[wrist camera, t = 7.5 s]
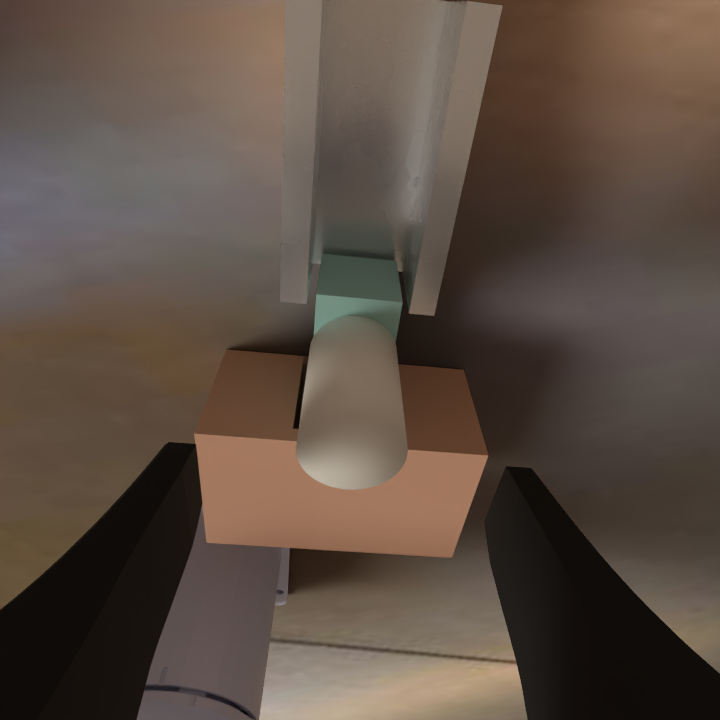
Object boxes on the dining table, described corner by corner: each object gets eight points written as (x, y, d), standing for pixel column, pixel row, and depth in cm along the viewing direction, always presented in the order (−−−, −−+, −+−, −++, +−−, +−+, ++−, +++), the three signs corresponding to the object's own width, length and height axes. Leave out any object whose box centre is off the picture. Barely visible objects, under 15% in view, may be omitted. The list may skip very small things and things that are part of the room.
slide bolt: (371, 428, 22) (377, 587, 16) (308, 423, 22) (289, 583, 16) (399, 260, 18) (420, 395, 12) (319, 252, 18) (299, 385, 11)
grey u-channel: (422, 266, 19) (434, 315, 16) (292, 254, 18) (280, 301, 16) (472, 5, 14) (502, 5, 11) (301, -18, 14) (286, -24, 11)
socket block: (436, 467, 25) (451, 557, 21) (232, 452, 24) (206, 542, 20) (463, 369, 22) (488, 455, 17) (226, 349, 21) (194, 433, 17)
